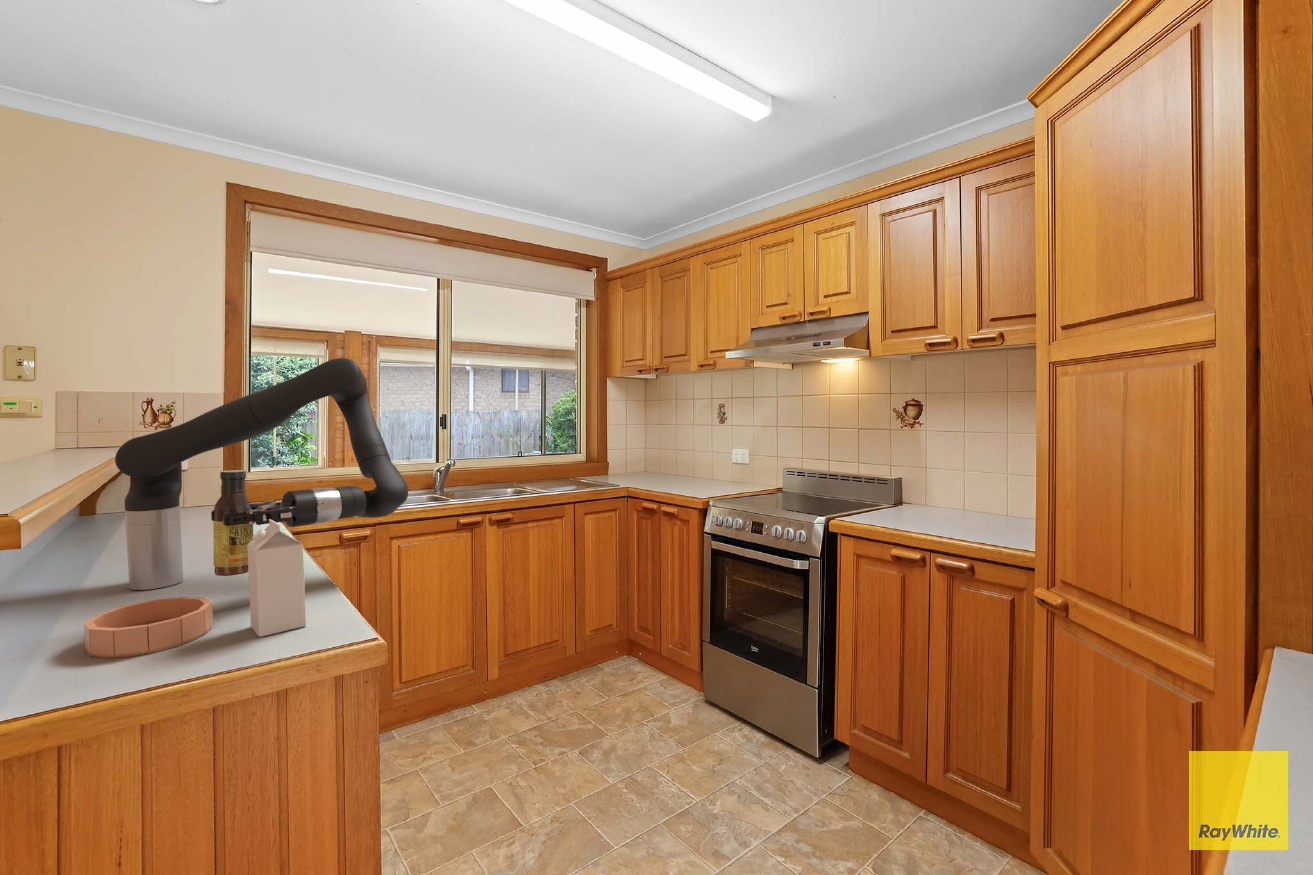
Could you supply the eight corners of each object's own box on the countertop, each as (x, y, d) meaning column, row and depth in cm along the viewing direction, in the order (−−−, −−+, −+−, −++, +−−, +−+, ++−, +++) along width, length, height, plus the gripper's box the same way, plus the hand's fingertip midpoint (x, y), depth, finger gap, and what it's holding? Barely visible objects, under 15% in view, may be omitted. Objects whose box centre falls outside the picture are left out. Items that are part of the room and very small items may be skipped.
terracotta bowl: (78, 641, 99) (76, 615, 98) (195, 614, 111) (194, 591, 111) (99, 667, 89) (97, 637, 89) (224, 634, 102) (223, 608, 101)
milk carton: (296, 617, 110) (292, 516, 109) (306, 627, 105) (302, 521, 104) (250, 627, 105) (245, 521, 104) (259, 638, 100) (254, 527, 99)
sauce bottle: (233, 578, 110) (229, 473, 109) (205, 576, 111) (201, 472, 110) (262, 569, 116) (259, 469, 115) (236, 567, 118) (232, 468, 116)
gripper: (297, 485, 129) (204, 495, 115) (327, 492, 120) (230, 502, 107) (298, 519, 129) (205, 532, 116) (328, 528, 120) (231, 543, 107)
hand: (218, 518), depth 111 cm, fingers closed on sauce bottle, 6 cm apart
